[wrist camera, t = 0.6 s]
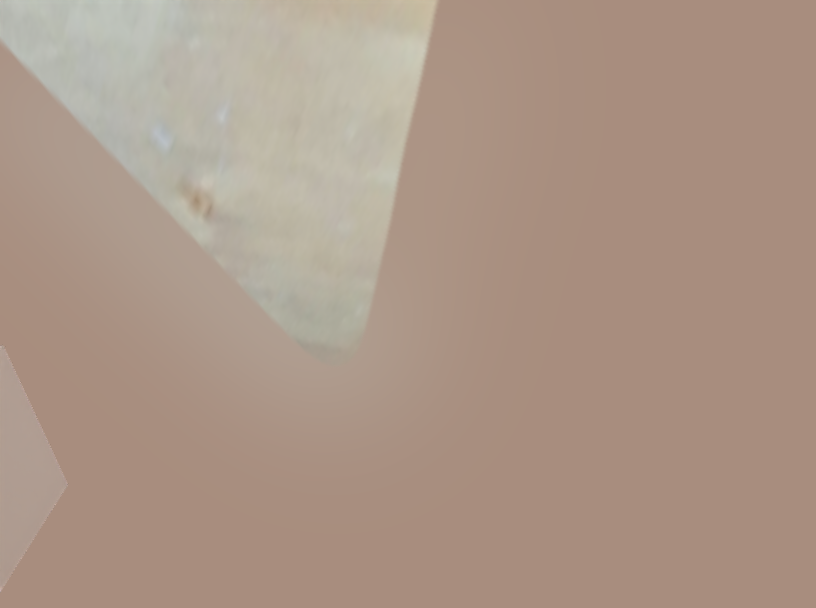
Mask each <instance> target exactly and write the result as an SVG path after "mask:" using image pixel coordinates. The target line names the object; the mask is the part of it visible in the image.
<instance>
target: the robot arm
mask: <svg viewBox="0 0 816 608" xmlns="http://www.w3.org/2000/svg"><path fill="white" fill-rule="evenodd" d="M67 485H68V484H67V482H66V479H65V477H64V475H63V473H62V471H61V469H60V467H59V465H58V462H57V461H56V458H55V456H54V454H53V451H52V449H51V447H50V445H49V443H48V441H47V439H46V436H45V434H44V432H43V430H42V428H41V426H40V424H39V421H38V419H37V417H36V415H35V413H34V411H33V408H32V406H31V404H30V402H29V400H28V398H27V396H26V394H25V391H24V389H23V387H22V385H21V383H20V380H19V379H18V376H17V374H16V372H15V370H14V368H13V365H12V363H11V361H10V359H9V357H8V355H7V353H6V350H5V348H4V346H0V592H1V590H2V588H3V587H4V585H5V584H6V582H7V581H8V579H9V577H10V576H11V574H12V573H13V571H14V569H15V568H16V566H17V565H18V563H19V562H20V560H21V558H22V557H23V555H24V553H25V552H26V550H27V549H28V547H29V546H30V544H31V542H32V541H33V539H34V538H35V536H36V534H37V533H38V531H39V530H40V528H41V526H42V525H43V523H44V522H45V520H46V519H47V517H48V515H49V514H50V512H51V511H52V509H53V507H54V506H55V504H56V503H57V501H58V500H59V498H60V496H61V495H62V493H63V492H64V490H65V489H66V487H67Z"/></svg>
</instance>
